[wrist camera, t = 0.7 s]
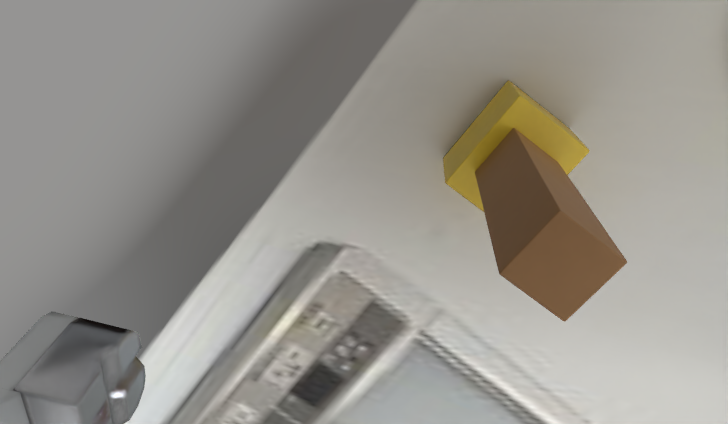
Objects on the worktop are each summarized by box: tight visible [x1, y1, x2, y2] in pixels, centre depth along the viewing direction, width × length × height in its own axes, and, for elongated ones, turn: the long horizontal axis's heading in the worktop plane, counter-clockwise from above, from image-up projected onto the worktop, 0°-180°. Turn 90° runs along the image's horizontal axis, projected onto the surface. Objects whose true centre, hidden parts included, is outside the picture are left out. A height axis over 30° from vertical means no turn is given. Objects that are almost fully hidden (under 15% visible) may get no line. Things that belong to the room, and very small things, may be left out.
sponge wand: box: [443, 80, 627, 321], centre depth 24 cm, size 5×4×14 cm
